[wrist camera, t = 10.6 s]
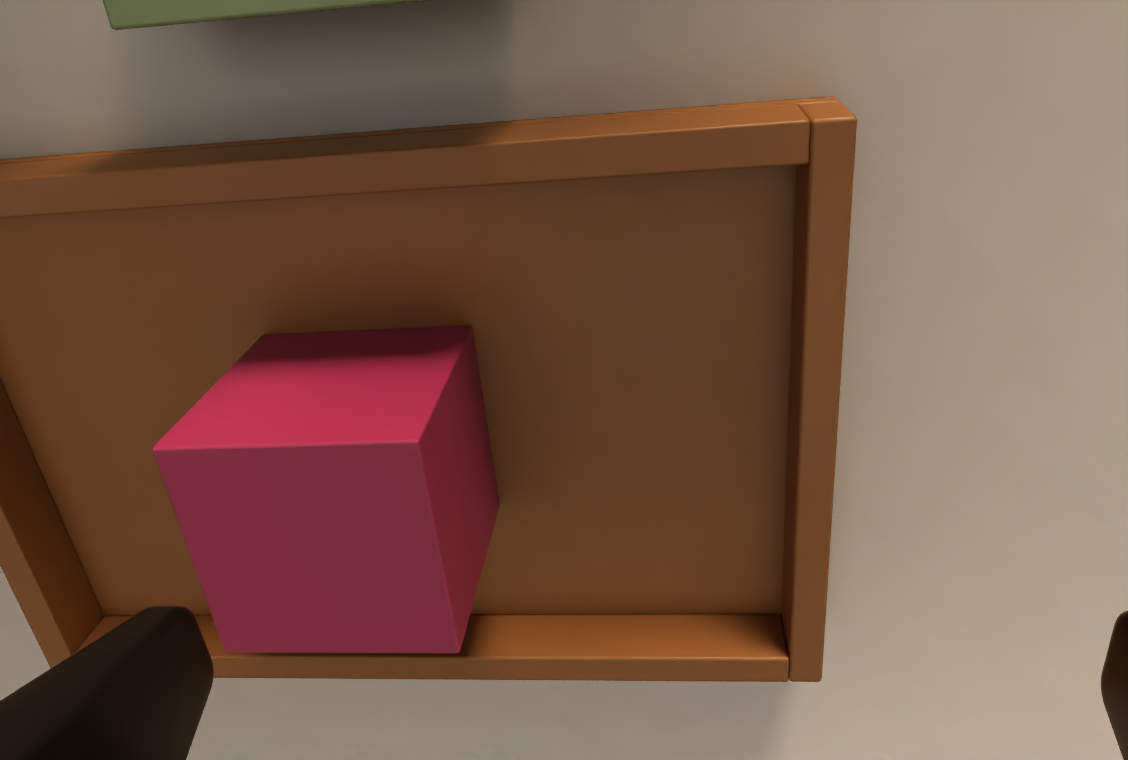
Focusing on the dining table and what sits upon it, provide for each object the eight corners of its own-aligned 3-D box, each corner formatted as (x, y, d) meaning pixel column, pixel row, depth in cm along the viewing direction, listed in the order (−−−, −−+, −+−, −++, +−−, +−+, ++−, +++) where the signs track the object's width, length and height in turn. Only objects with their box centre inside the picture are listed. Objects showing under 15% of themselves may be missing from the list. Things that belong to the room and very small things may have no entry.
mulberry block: (472, 324, 19) (418, 440, 15) (500, 506, 22) (460, 655, 17) (261, 333, 20) (150, 448, 15) (310, 510, 22) (224, 654, 18)
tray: (836, 95, 17) (858, 115, 15) (808, 622, 23) (822, 683, 21) (-105, 166, 19) (-186, 191, 18) (97, 623, 26) (54, 677, 24)
